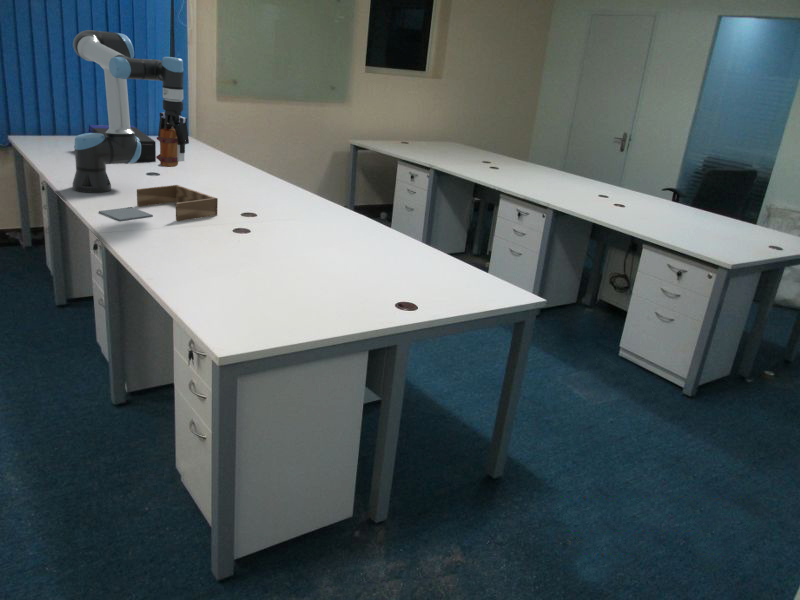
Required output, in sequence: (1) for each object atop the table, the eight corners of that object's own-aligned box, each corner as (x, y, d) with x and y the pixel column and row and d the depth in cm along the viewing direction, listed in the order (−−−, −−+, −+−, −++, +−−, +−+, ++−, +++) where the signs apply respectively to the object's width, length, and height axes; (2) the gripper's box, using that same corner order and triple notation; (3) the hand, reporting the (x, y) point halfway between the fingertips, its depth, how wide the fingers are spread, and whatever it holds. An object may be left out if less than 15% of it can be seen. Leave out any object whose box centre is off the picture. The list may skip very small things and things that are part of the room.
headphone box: (132, 150, 374) (132, 124, 369) (156, 162, 350) (155, 135, 345) (87, 150, 358) (86, 123, 353) (108, 162, 334) (107, 134, 329)
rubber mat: (98, 212, 249) (98, 211, 249) (131, 208, 260) (131, 206, 259) (120, 221, 242) (119, 219, 241) (152, 216, 253) (152, 215, 252)
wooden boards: (137, 205, 264) (136, 189, 261) (177, 200, 279) (176, 184, 276) (177, 221, 250) (177, 203, 248) (217, 215, 266) (217, 198, 263)
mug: (171, 169, 250) (171, 130, 245) (152, 166, 251) (152, 126, 246) (190, 164, 264) (191, 126, 258) (172, 160, 265) (172, 123, 259)
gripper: (147, 95, 250) (148, 154, 258) (182, 104, 240) (182, 164, 248) (164, 96, 256) (164, 153, 264) (199, 104, 246) (198, 163, 254)
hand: (173, 158), depth 256 cm, fingers closed on mug, 9 cm apart
